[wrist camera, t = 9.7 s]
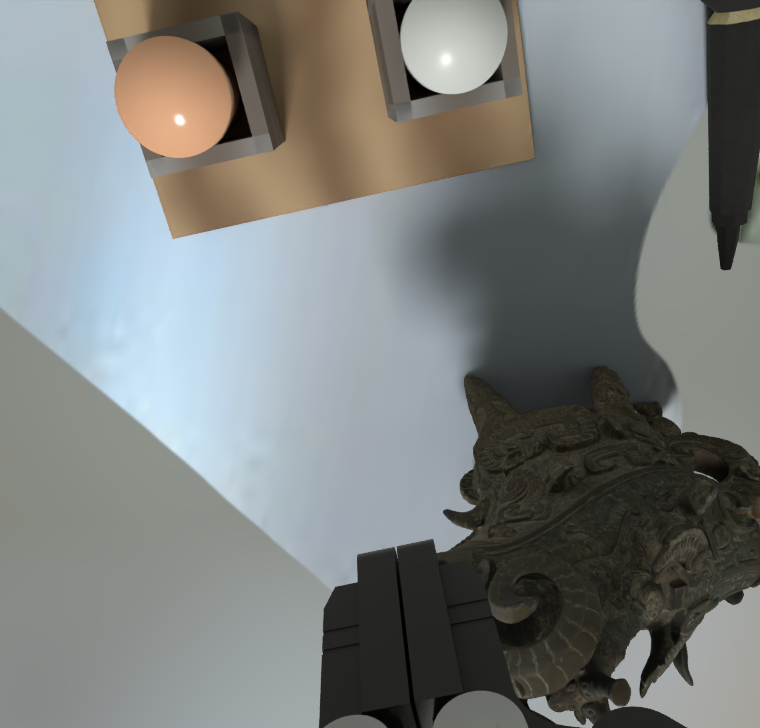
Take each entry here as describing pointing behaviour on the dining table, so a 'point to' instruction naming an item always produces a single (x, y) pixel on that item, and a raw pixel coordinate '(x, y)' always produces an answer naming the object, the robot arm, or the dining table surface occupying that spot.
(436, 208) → the dining table surface
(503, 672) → the robot arm
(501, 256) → the dining table surface
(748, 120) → the microphone
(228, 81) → the terracotta plug
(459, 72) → the white bulb-shaped plug
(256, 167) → the board
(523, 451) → the vessel
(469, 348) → the dining table surface
